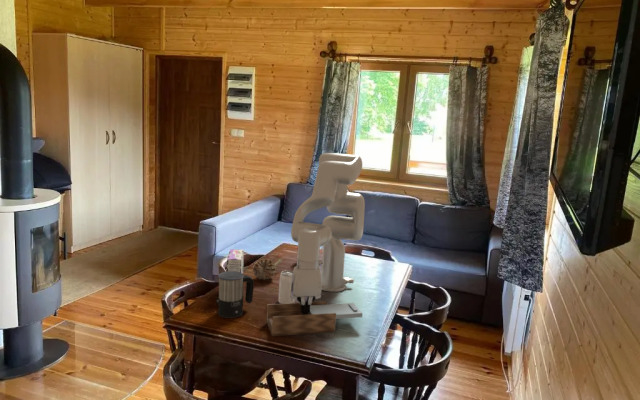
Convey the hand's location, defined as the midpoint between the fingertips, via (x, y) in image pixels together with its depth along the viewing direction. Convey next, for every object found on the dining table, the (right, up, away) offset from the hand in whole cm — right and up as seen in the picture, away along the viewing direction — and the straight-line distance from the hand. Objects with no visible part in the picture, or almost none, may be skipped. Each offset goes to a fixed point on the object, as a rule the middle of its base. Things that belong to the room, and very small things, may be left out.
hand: (304, 314), depth 172 cm
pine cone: (-18, +5, +50) cm, 53 cm away
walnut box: (-2, -5, 0) cm, 5 cm away
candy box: (-30, +2, +29) cm, 42 cm away
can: (-8, -1, +22) cm, 24 cm away
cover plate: (+10, 0, +3) cm, 11 cm away
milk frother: (-29, -1, +12) cm, 32 cm away
